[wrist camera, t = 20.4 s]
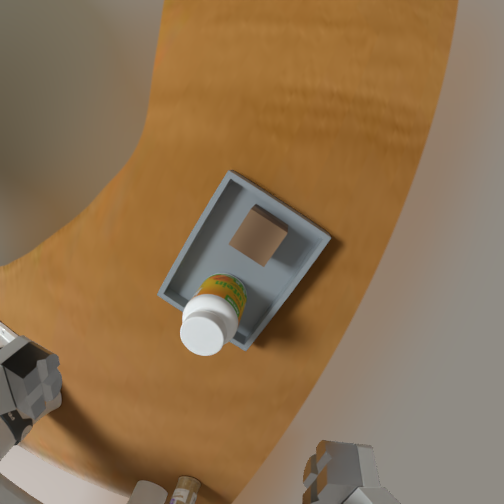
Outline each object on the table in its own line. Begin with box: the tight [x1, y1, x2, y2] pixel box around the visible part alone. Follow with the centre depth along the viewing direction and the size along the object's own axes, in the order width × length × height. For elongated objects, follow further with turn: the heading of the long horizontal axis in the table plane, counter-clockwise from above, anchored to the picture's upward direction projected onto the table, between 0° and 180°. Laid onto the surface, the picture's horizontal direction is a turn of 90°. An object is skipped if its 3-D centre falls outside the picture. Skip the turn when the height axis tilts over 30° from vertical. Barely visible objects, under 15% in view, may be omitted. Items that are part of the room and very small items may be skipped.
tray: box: [157, 170, 331, 351], centre depth 34 cm, size 12×16×2 cm
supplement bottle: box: [180, 273, 247, 356], centre depth 31 cm, size 5×5×10 cm
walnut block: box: [229, 204, 288, 267], centre depth 31 cm, size 4×4×4 cm
